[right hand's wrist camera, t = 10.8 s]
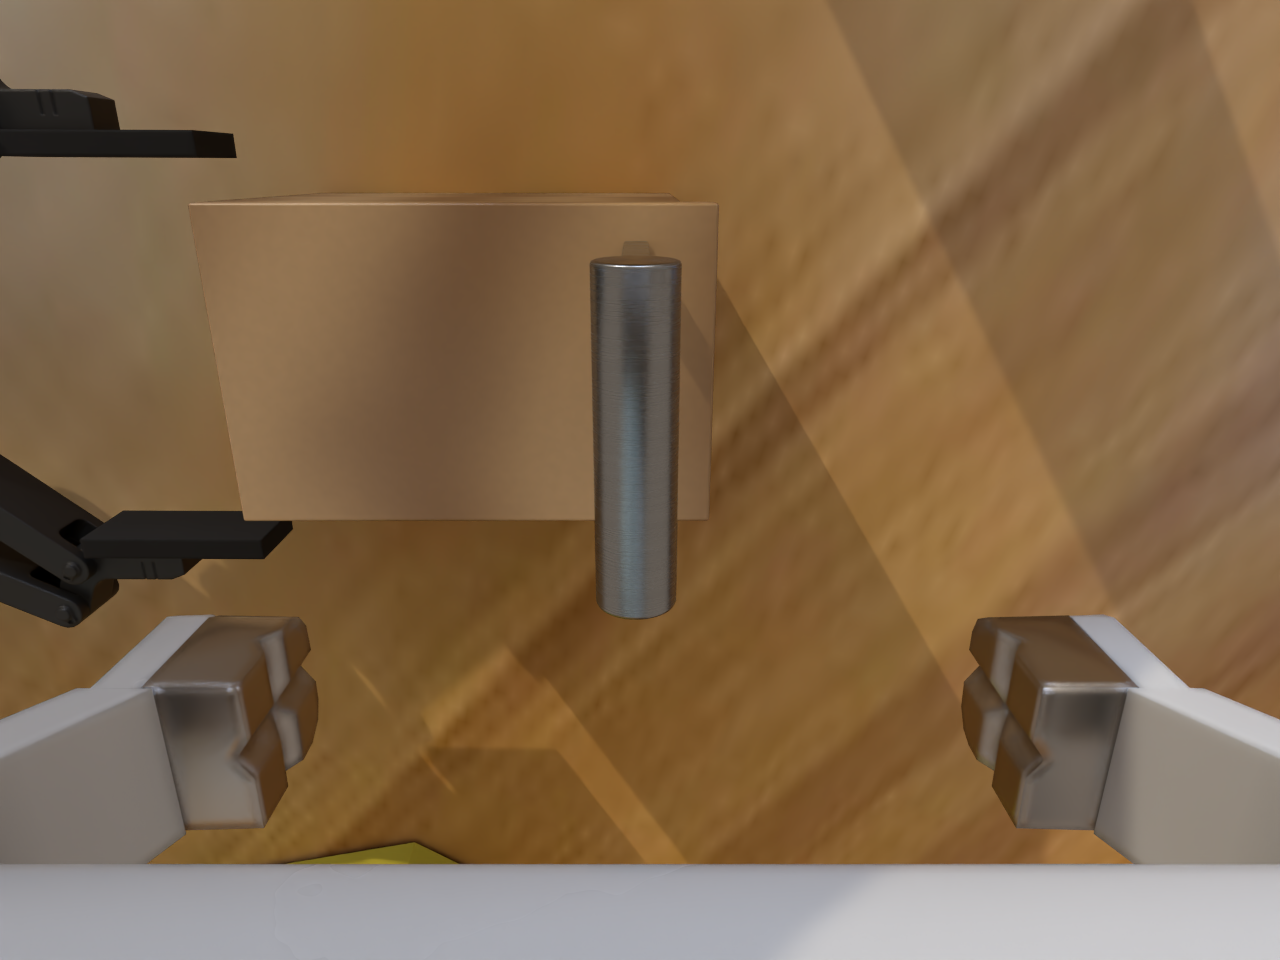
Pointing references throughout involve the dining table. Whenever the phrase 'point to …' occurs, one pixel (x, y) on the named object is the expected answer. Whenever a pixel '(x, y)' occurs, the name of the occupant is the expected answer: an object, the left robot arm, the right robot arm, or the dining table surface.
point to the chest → (467, 197)
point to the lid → (472, 367)
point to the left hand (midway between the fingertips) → (250, 355)
